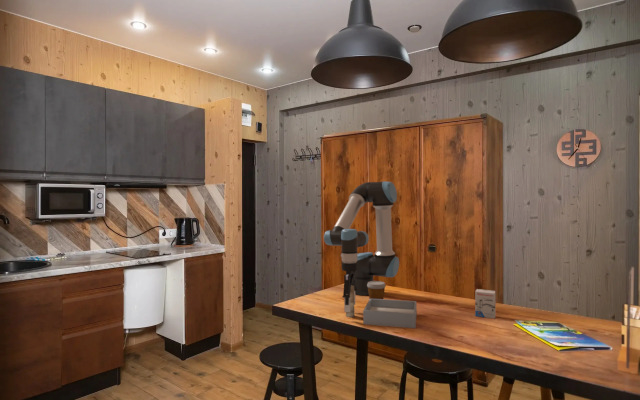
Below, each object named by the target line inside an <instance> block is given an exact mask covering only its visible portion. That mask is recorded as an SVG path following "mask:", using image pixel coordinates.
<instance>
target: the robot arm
mask: <svg viewBox="0 0 640 400" xmlns="http://www.w3.org/2000/svg"><path fill="white" fill-rule="evenodd" d="M397 198H398V194H397V188H396V185H395V184H394V183H393V182H392V181H384V180H383V181H371V182H370V181H368V182H367V181H366V182H364V183H362V184H360V185H358V186H357V187H355V189H353V191H352V192H351V193H350V195H349V196H348V202H347V203H346V205H345V206H344V209H343V210H342V211H341V214H340V216H339V217H338V220H337V221H336V222H335V224H334V226H333V228H332V230H330V229H329V230H326V231H325V232H324V235H323V241H324V243H325V245H327V246H336V247H337V246H338V247H339V246H340V247H341V254H340V257H341V271H343V272H345V274H344V276H343V277H344V279H343V292H342V293H343V295H342V299H343V298H344V299H343V302H344V306H343V307H344V309H343V310H344V313H346V312H351V304H350V290H351V285H352V286H354V306H355V305H356V296H357V295H358V296H369V292H368V287H367V284H368V282H370V281H375V280H374V277H381V278H382V277H383V278H394V277H396V275H397V273H398V271H399V267H400V258H399V257H398V256H396V252H395V251H394V250H393V234H392V233H393V232H392V231H393V230H392V207H393V206H394V203H395V202H397ZM366 203H372V207H373V208H374V209H375V210H374V211H375V230H376V235H375V236H376V251H375V252H370V251H367V252H359V253H358V248H361V247H364V246H366V245H367V244H368V242H369V238H370V237H369V235H368V233H367V232H366V231H363V230H357V229H355V228H351V226H352V224H353V222H354V221H355V219H356V217H357V215H358V213H359V211H360V210H361V208H362V207H364V206H365V204H366ZM346 294H347V295H346Z"/></svg>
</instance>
